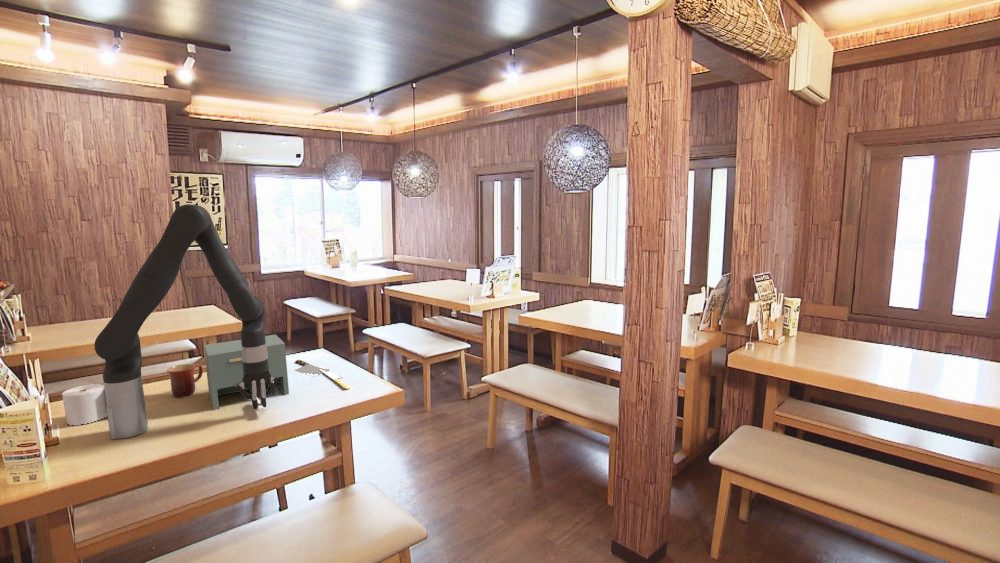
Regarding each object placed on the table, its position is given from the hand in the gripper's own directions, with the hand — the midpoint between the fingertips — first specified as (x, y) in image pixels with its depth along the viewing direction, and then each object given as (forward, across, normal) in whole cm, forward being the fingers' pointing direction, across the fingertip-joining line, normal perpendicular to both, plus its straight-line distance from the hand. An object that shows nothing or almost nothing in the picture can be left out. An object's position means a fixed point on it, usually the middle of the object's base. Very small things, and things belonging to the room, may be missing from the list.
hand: (259, 409), depth 167 cm
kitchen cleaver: (+3, +25, +40) cm, 47 cm away
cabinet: (+2, 0, +22) cm, 22 cm away
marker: (+1, 0, +4) cm, 5 cm away
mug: (+2, -18, +38) cm, 42 cm away
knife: (+2, +31, +21) cm, 38 cm away
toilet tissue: (+2, -46, +31) cm, 55 cm away
